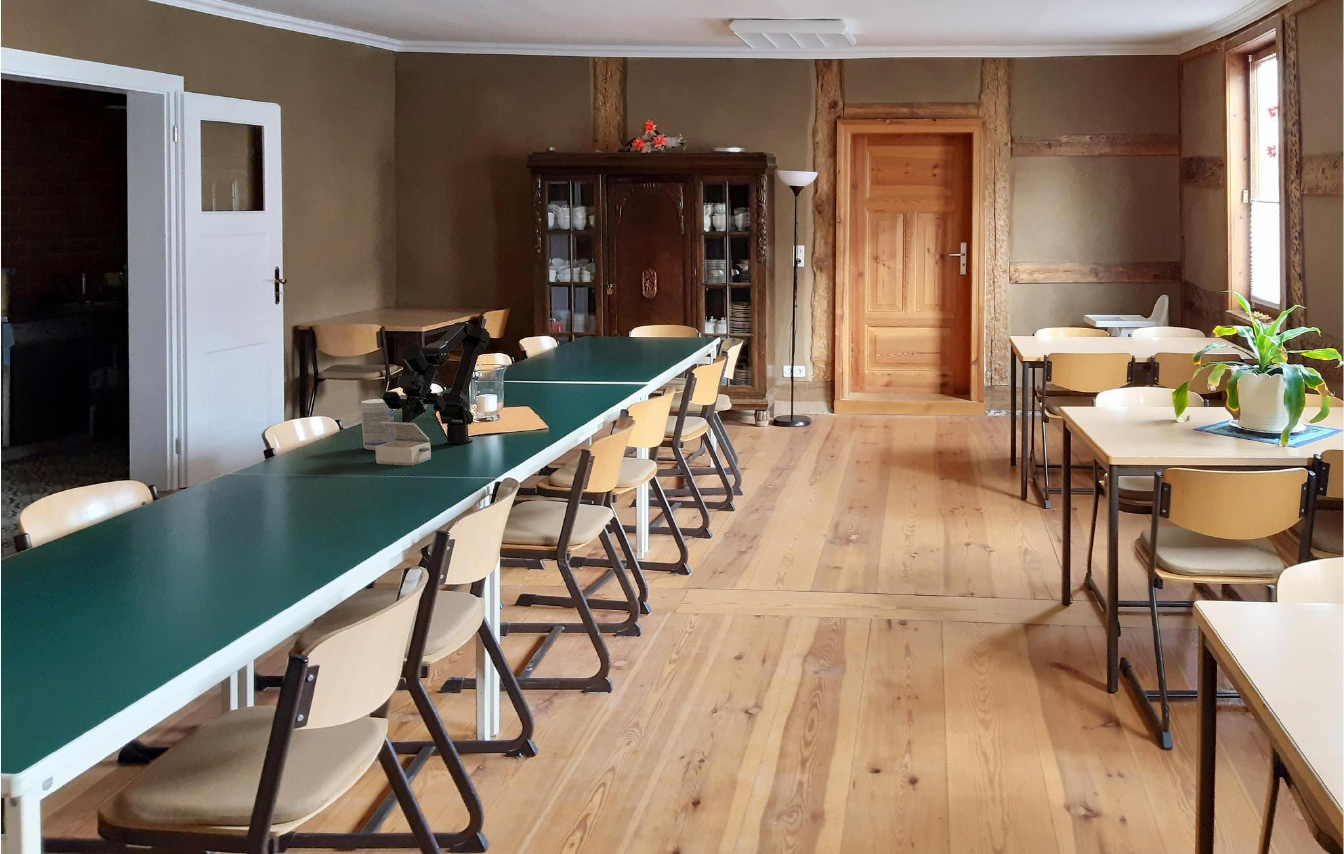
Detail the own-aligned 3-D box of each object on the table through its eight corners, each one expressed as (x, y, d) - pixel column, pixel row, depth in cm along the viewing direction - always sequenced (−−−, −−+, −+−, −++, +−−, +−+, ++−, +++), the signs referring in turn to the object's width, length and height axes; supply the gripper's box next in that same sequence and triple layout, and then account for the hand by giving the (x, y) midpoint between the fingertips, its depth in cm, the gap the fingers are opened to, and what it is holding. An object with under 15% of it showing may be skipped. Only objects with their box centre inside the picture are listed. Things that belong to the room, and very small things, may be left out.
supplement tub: (400, 448, 383) (397, 401, 380) (370, 452, 378) (367, 404, 375) (388, 444, 391) (385, 397, 388) (358, 447, 386) (356, 400, 383)
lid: (395, 440, 368) (397, 434, 369) (429, 442, 364) (431, 436, 365) (378, 423, 359) (380, 417, 360) (413, 425, 355) (415, 419, 356)
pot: (389, 456, 369) (388, 440, 369) (436, 459, 364) (436, 442, 363) (370, 463, 360) (369, 446, 359) (418, 466, 355) (417, 448, 354)
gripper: (383, 364, 367) (363, 406, 358) (438, 365, 360) (420, 409, 352) (399, 387, 375) (380, 429, 367) (453, 389, 369) (436, 431, 360)
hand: (403, 424), depth 361 cm, fingers closed
